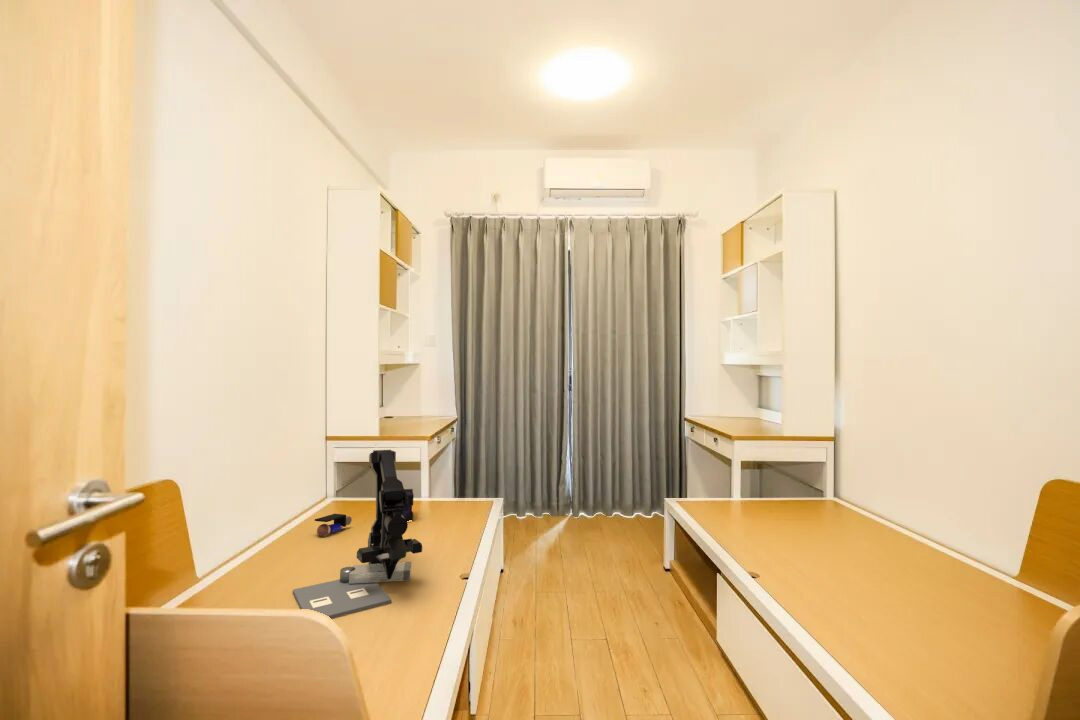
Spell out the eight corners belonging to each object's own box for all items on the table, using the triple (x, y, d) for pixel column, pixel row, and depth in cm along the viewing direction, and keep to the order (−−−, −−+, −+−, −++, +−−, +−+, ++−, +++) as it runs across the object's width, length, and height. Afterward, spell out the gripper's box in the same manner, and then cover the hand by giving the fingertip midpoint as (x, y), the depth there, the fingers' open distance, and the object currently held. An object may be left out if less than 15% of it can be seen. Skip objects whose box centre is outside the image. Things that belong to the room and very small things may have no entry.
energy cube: (384, 516, 221) (385, 490, 221) (411, 514, 224) (412, 488, 225) (384, 524, 209) (385, 496, 210) (412, 522, 213) (413, 495, 213)
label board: (368, 576, 155) (368, 572, 155) (391, 602, 137) (391, 599, 137) (292, 592, 142) (292, 589, 142) (307, 624, 124) (308, 620, 124)
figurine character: (338, 530, 204) (311, 536, 190) (340, 511, 205) (314, 517, 191) (351, 531, 202) (325, 538, 188) (353, 513, 203) (327, 518, 189)
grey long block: (337, 584, 145) (338, 574, 145) (342, 575, 152) (342, 565, 152) (409, 580, 149) (410, 570, 149) (411, 571, 156) (411, 561, 156)
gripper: (368, 539, 136) (365, 595, 135) (430, 529, 147) (428, 581, 146) (357, 529, 145) (354, 582, 144) (416, 520, 156) (414, 569, 155)
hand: (389, 578), depth 147 cm, fingers closed
